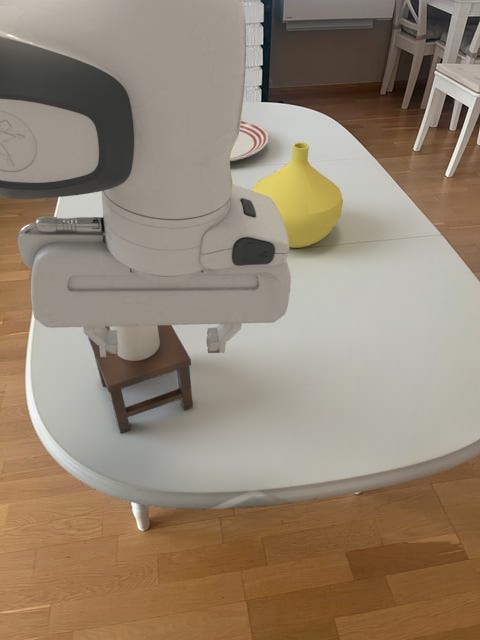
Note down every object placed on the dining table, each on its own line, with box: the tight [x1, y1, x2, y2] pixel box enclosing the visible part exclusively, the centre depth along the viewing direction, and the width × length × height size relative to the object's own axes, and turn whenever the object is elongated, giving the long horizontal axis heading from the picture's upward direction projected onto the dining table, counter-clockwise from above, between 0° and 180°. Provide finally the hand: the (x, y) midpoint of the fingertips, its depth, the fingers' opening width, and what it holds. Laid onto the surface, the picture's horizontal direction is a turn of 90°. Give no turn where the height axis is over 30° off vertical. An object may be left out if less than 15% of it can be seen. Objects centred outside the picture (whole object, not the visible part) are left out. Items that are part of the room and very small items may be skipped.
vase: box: [252, 141, 344, 249], centre depth 102 cm, size 18×18×19 cm
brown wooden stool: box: [87, 325, 194, 434], centre depth 73 cm, size 11×11×10 cm
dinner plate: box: [230, 119, 270, 162], centre depth 139 cm, size 27×27×3 cm
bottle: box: [109, 325, 160, 361], centre depth 63 cm, size 6×6×18 cm
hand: (163, 349), depth 47 cm, fingers open, 8 cm apart
